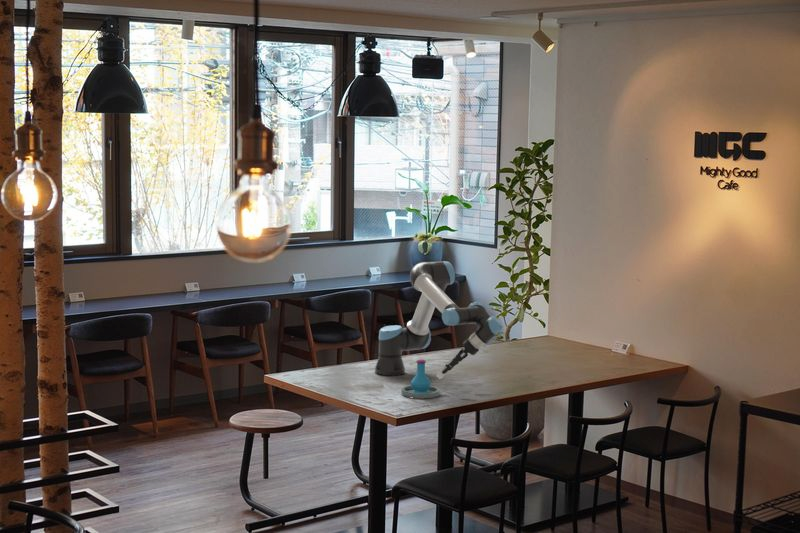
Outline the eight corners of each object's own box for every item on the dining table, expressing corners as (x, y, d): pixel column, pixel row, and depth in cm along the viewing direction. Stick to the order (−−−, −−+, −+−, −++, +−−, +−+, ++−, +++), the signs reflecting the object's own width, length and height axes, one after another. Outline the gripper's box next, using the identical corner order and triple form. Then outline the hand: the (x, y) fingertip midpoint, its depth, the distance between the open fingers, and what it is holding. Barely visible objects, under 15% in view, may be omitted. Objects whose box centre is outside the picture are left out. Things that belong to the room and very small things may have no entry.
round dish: (398, 397, 469) (398, 392, 468) (406, 388, 486) (406, 383, 485) (435, 399, 465) (435, 394, 465) (442, 391, 482) (442, 386, 482)
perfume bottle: (424, 395, 469) (424, 363, 467) (407, 392, 474) (407, 360, 472) (434, 391, 477) (434, 359, 475) (417, 388, 482) (417, 357, 480)
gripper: (475, 355, 454) (441, 386, 459) (483, 345, 478) (451, 374, 484) (463, 342, 455) (429, 373, 460) (472, 333, 479) (440, 362, 484)
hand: (440, 374), depth 472 cm, fingers open, 13 cm apart
